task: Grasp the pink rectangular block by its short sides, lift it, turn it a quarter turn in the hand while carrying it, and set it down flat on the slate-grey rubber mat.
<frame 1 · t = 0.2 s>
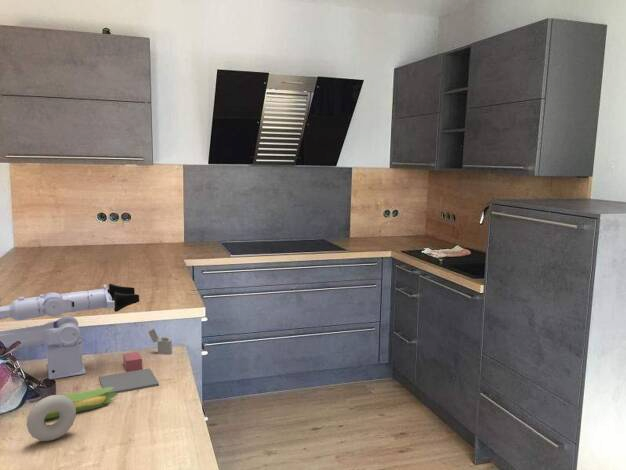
hand: (136, 294, 156), 21 cm above the countertop, tool horizontal, fingers open, 7 cm apart
mat: (128, 382, 144), on the countertop
edible corn: (78, 412, 127), on the countertop
donut: (53, 439, 113), on the countertop
pink rectangular block: (132, 367, 155), on the countertop
lighter: (160, 353, 166), on the countertop
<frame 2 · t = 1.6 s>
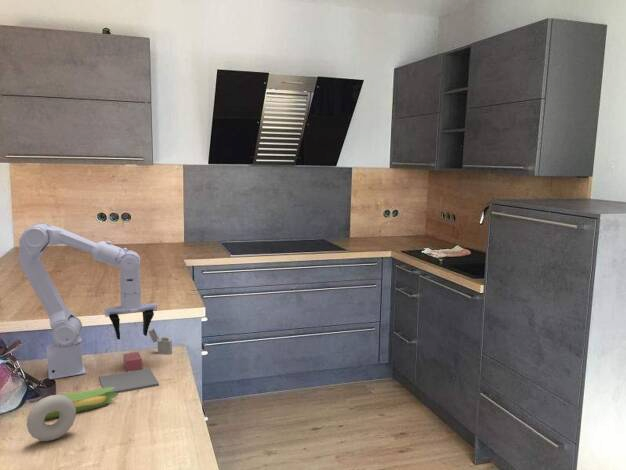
hand: (131, 336, 153), 9 cm above the countertop, tool pointing down, fingers open, 7 cm apart
nothing on the countertop moved.
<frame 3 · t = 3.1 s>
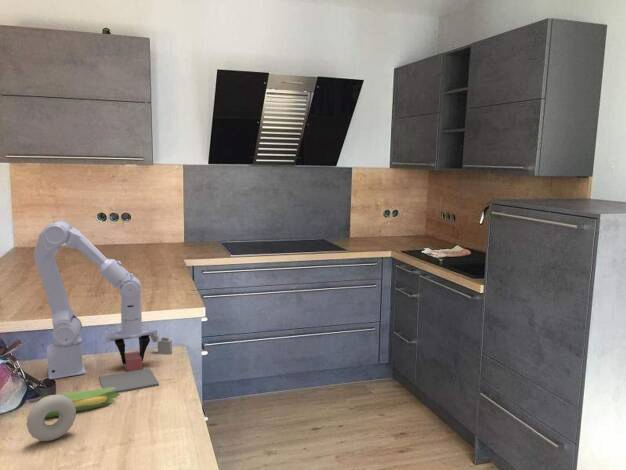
hand: (132, 361, 154), 2 cm above the countertop, tool pointing down, fingers closed on pink rectangular block, 4 cm apart
pink rectangular block: (132, 366, 155), on the countertop, touching gripper
everything else where it was.
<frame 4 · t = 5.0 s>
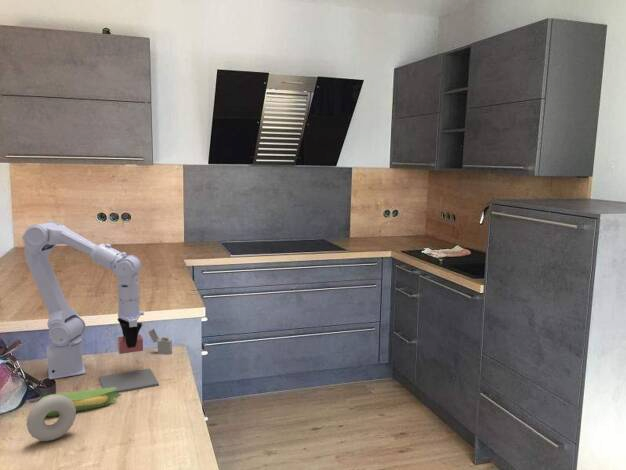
hand: (130, 344, 148), 9 cm above the countertop, tool pointing down, fingers closed on pink rectangular block, 4 cm apart
pink rectangular block: (130, 349, 148), point 7 cm above the countertop, touching gripper
everything else where it was.
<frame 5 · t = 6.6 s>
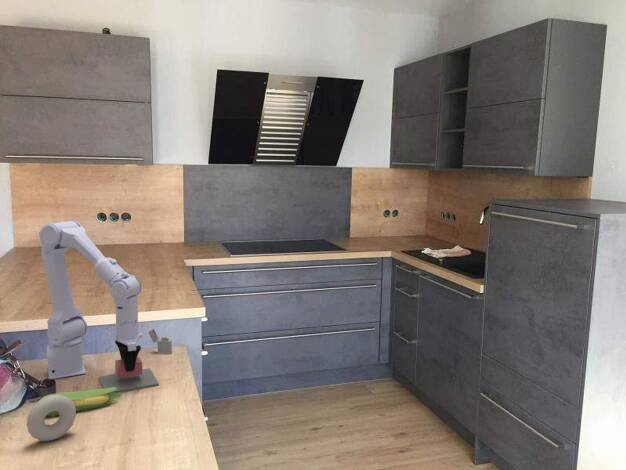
hand: (128, 367, 143), 4 cm above the countertop, tool pointing down, fingers closed on pink rectangular block, 4 cm apart
pink rectangular block: (128, 373, 143), point 3 cm above the countertop, touching gripper
everything else where it was.
when the fingers open (3 cm above the countertop, at t = 7.3 s): pink rectangular block stays where it is, resting on mat.
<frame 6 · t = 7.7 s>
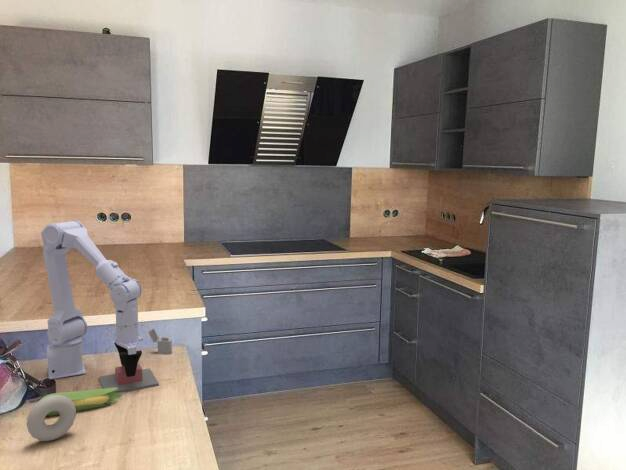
hand: (128, 371, 143), 3 cm above the countertop, tool pointing down, fingers open, 7 cm apart
pink rectangular block: (128, 380, 144), point 1 cm above the countertop, touching mat
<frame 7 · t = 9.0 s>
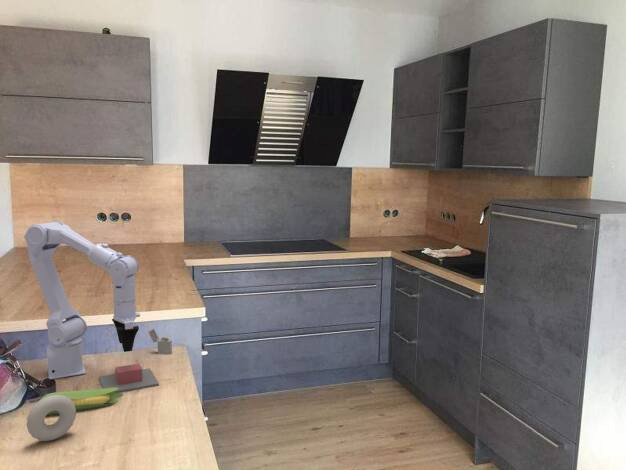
hand: (125, 346, 145), 9 cm above the countertop, tool pointing down, fingers open, 7 cm apart
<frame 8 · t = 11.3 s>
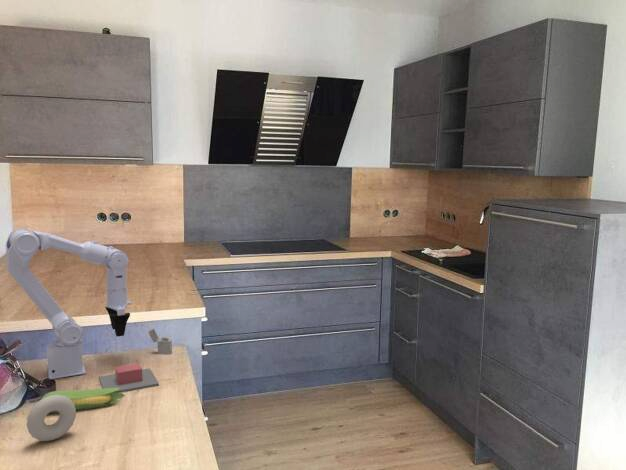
hand: (118, 332, 157), 9 cm above the countertop, tool pointing down, fingers open, 7 cm apart
at the end: pink rectangular block inside the target area on the mat (0.1 cm from its centre), point 0.6 cm above the mat's base; pink rectangular block tilted 0°; the gripper is holding nothing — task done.
